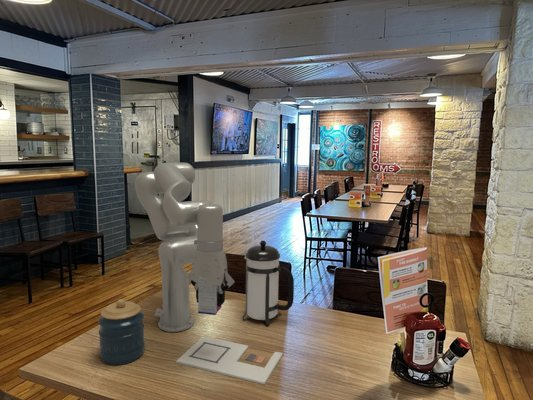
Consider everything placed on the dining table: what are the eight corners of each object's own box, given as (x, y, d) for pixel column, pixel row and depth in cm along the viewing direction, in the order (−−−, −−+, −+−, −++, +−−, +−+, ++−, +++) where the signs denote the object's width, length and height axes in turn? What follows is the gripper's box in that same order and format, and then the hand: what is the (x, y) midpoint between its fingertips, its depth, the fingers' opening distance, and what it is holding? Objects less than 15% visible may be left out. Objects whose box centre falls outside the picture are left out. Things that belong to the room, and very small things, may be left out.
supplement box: (216, 315, 110) (216, 278, 108) (197, 313, 111) (197, 276, 110) (222, 307, 116) (222, 271, 114) (204, 305, 117) (204, 270, 115)
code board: (176, 362, 110) (176, 360, 110) (203, 337, 125) (203, 335, 125) (264, 384, 101) (264, 382, 101) (282, 354, 116) (282, 352, 116)
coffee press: (246, 330, 131) (247, 247, 127) (239, 311, 147) (239, 236, 143) (293, 325, 135) (295, 245, 131) (281, 307, 151) (283, 235, 147)
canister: (130, 368, 107) (128, 310, 105) (90, 363, 109) (87, 306, 107) (152, 345, 120) (151, 293, 117) (115, 341, 122) (113, 289, 120)
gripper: (178, 245, 110) (179, 303, 113) (230, 251, 104) (230, 312, 107) (191, 239, 117) (192, 294, 120) (241, 245, 111) (241, 302, 114)
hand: (210, 302), depth 113 cm, fingers closed on supplement box, 6 cm apart
